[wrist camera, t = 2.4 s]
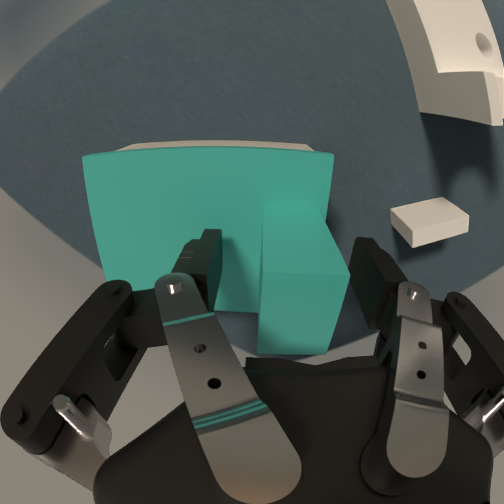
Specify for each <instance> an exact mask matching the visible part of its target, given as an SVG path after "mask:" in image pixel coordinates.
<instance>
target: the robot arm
mask: <svg viewBox="0 0 504 504" xmlns="http://www.w3.org/2000/svg"><path fill="white" fill-rule="evenodd" d="M222 265H223V257H222V230H221V229H204V231H203V233H202V235H201V238H200V239H192V240H190V241H189V242H188V243H186V244H185V245H184V247H183V249H182V252H181V253H180V255H179V258H178V259H177V261H176V263H175V265H174V267H173V269H172V271H171V273H169V274H166V275H163V276H162V277H160V278H159V279H158V280H157V281H156V282H155V285H154V288H151V289H146V290H138V291H133V290H132V286H131V284H130V283H129V282H127V281H125V280H111V281H108V282H106V283H104V284H102V285H101V286H99V287H98V288H97V289H96V290H95V292H94V293H93V294H92V295H91V296H90V297H89V298H88V299H87V300H86V301H85V302H84V304H83V305H82V306H81V307H80V308H79V309H78V310H77V311H76V312H75V314H74V315H73V316H72V317H71V318H70V319H69V321H68V322H67V323H66V324H65V325H64V327H63V328H62V329H61V330H60V331H59V332H58V333H57V335H56V336H55V337H54V338H53V340H52V341H51V342H50V343H49V345H48V346H47V347H46V348H45V350H44V351H43V352H42V353H41V355H40V356H39V357H38V359H37V360H36V361H35V362H34V364H33V365H32V366H31V368H30V369H29V370H28V372H27V373H26V374H25V376H24V377H23V378H22V380H21V381H20V383H19V384H18V385H17V387H16V388H15V390H14V391H13V393H12V394H11V395H10V397H9V398H8V400H7V401H6V403H5V404H4V406H3V408H2V411H1V416H0V421H1V426H2V429H3V431H4V432H5V434H6V435H7V436H8V437H9V438H11V439H12V440H13V441H15V442H16V443H17V444H18V445H20V446H21V447H23V449H24V450H25V451H26V452H28V453H29V454H31V455H32V456H34V457H35V458H36V459H38V460H40V461H41V462H43V463H44V464H46V465H47V466H49V467H53V468H54V469H56V470H58V471H59V472H61V473H63V474H65V475H66V476H68V477H69V478H71V479H72V480H74V481H76V482H77V483H79V484H80V485H82V486H84V487H86V488H87V489H89V490H90V491H92V492H93V496H94V501H95V504H490V486H491V477H492V471H493V459H494V458H495V457H496V456H497V455H498V454H499V453H500V452H501V451H502V450H504V340H503V339H502V338H501V336H500V335H499V334H498V333H497V331H495V329H494V328H493V326H492V325H491V324H490V323H489V322H488V320H487V319H486V318H485V317H484V316H483V315H482V313H481V312H480V311H479V310H478V309H477V308H476V306H475V305H474V304H473V303H472V302H471V301H470V300H469V299H468V298H467V297H466V296H464V295H462V294H460V293H457V292H450V293H448V294H447V296H446V298H445V300H444V302H443V301H439V300H434V299H430V294H429V292H428V291H427V290H426V289H425V288H424V287H423V286H421V285H420V284H418V283H415V282H410V281H408V280H407V278H406V277H405V275H404V274H403V272H402V271H401V269H400V268H398V265H397V264H396V263H395V261H394V260H393V258H392V257H391V255H390V254H388V253H387V252H386V251H384V250H383V249H380V247H379V246H378V244H377V243H376V242H375V240H374V239H373V238H365V237H357V238H356V239H355V242H354V246H353V251H352V255H351V259H350V263H349V268H348V271H349V273H350V279H349V281H350V283H351V286H352V288H353V290H354V293H355V295H356V298H357V300H358V302H359V305H360V307H361V310H362V312H363V315H364V317H365V320H366V323H367V325H368V328H369V329H378V328H379V329H380V332H379V335H378V337H377V340H376V346H375V350H374V355H373V356H360V357H346V358H343V359H339V360H336V361H332V362H328V363H324V364H320V365H310V364H305V363H300V362H295V361H290V360H285V359H281V358H253V357H246V364H245V365H246V366H245V367H242V366H241V364H240V362H239V361H238V358H237V356H236V355H235V353H234V351H233V349H232V347H231V345H230V343H229V341H228V339H227V337H226V335H225V333H224V331H223V329H222V327H221V325H220V323H219V321H218V319H217V317H216V315H215V313H214V312H213V311H214V306H215V302H216V297H217V293H218V288H219V284H220V279H221V275H222ZM459 334H460V335H461V337H462V338H463V339H464V341H465V342H466V343H467V345H468V346H469V348H470V349H471V359H470V361H469V362H468V363H467V365H466V366H465V364H464V363H463V361H462V360H461V358H460V357H459V355H458V354H457V352H456V351H455V349H454V348H453V346H452V345H453V344H454V342H455V341H456V339H457V338H458V336H459ZM110 337H111V338H110ZM109 339H110V340H109ZM108 340H109V341H108ZM107 342H108V343H107ZM106 343H107V344H106ZM105 344H106V346H105ZM164 345H168V348H169V351H170V355H171V358H172V362H173V365H174V369H175V372H176V375H177V378H178V382H179V385H180V388H181V391H182V394H183V397H184V400H185V401H184V402H183V403H181V404H180V405H179V406H178V407H176V408H175V409H174V410H173V411H171V412H170V413H169V414H167V415H166V416H165V417H164V418H162V419H161V420H160V421H158V422H157V423H156V424H154V425H153V426H152V427H150V428H149V429H148V430H146V431H145V432H144V433H142V434H141V435H140V436H138V437H137V438H136V439H134V440H133V441H131V442H130V443H128V444H127V445H126V446H124V447H123V448H121V449H120V450H119V451H117V452H116V453H114V454H113V455H111V456H110V454H109V445H110V442H111V438H112V432H111V428H110V426H109V424H108V423H107V420H108V419H109V417H110V415H111V413H112V411H113V409H114V407H115V405H116V403H117V402H118V400H119V398H120V396H121V394H122V392H123V391H124V389H125V387H126V385H127V383H128V382H129V380H130V378H131V376H132V375H133V373H134V371H135V369H136V367H137V366H138V364H139V362H140V360H141V359H142V357H143V355H144V353H145V352H146V350H147V348H149V347H157V346H164ZM104 346H105V347H104ZM444 391H445V393H446V395H447V397H448V398H449V400H450V402H451V404H452V406H453V407H454V409H455V411H456V413H457V415H456V414H455V413H454V412H452V411H451V410H450V409H449V408H448V407H447V406H446V405H445V404H444V400H443V399H444Z"/></svg>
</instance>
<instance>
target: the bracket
mask: <svg viewBox="0 0 504 504" xmlns="http://www.w3.org/2000/svg"><path fill="white" fill-rule="evenodd" d="M386 2H387V5H388V7H389V9H390V12H391V14H392V17H393V19H394V22H395V25H396V27H397V30H398V33H399V36H400V39H401V42H402V45H403V48H404V51H405V54H406V58H407V61H408V65H409V68H410V72H411V76H412V80H413V84H414V88H415V93H416V98H417V103H418V108H419V112H424V113H431V114H438V115H444V116H450V117H456V118H461V119H466V120H471V121H475V122H480V123H484V124H488V125H492V126H498V125H503V121H502V118H504V66H503V62H502V58H501V54H500V51H499V47H498V44H497V41H496V38H495V34H494V31H493V29H492V26H491V23H490V20H489V18H488V15H487V12H486V10H485V8H484V5H483V3H482V1H481V0H386Z"/></svg>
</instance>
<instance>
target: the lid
mask: <svg viewBox="0 0 504 504" xmlns="http://www.w3.org/2000/svg"><path fill="white" fill-rule="evenodd" d="M82 160H83V169H84V177H85V184H86V191H87V197H88V203H89V208H90V214H91V219H92V224H93V229H94V233H95V238H96V242H97V246H98V251H99V255H100V258H101V262H102V266H103V270H104V273H105V277H106V280H107V282H108V281H111V280H125V281H127V282H129V283H130V284H131V286H132V290H133V291H138V290H146V289H151V288H154V285H155V282H156V281H157V280H158V279H159V278H160V277H162V276H163V275H166V274H169V273H171V271H172V269H173V267H174V265H175V263H176V261H177V259H178V258H179V255H180V253H181V252H182V249H183V247H184V245H185V244H186V243H188V242H189V241H190V240H192V239H200V238H201V235H202V233H203V231H204V229H221V230H222V257H223V265H222V275H221V279H220V284H219V288H218V293H217V297H216V302H215V306H214V310H219V311H234V312H252V313H258V332H257V354H287V355H315V354H326V353H327V350H328V347H329V344H330V341H331V338H332V335H333V332H334V329H335V326H336V323H337V320H338V317H339V313H340V310H341V307H342V303H343V300H344V297H345V293H346V290H347V286H348V282H349V279H350V273H349V271H348V268H347V266H346V264H345V262H344V260H343V258H342V255H341V253H340V251H339V249H338V247H337V245H336V243H335V241H334V239H333V237H332V235H331V233H330V231H329V229H328V227H327V225H326V223H325V221H326V215H327V208H328V201H329V194H330V186H331V179H332V170H333V162H334V155H333V154H332V153H327V152H318V151H308V150H297V149H285V148H269V147H246V146H182V147H160V148H144V149H132V150H121V151H112V152H103V153H95V154H88V155H86V156H83V157H82Z"/></svg>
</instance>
